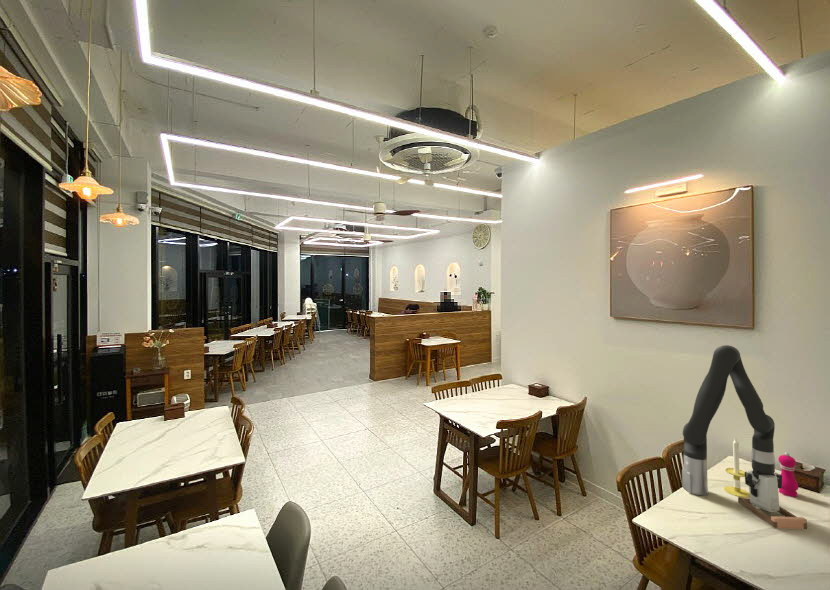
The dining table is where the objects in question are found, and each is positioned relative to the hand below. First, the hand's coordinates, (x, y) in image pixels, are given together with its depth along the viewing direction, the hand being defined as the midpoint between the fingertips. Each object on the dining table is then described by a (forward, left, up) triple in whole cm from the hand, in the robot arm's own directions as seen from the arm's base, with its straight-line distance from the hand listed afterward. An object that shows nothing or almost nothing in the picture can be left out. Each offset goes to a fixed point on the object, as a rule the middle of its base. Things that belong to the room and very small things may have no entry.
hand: (763, 496), depth 163 cm
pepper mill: (+24, +16, -7) cm, 29 cm away
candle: (+1, +16, -7) cm, 17 cm away
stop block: (0, -12, -6) cm, 13 cm away
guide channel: (0, -3, -7) cm, 7 cm away
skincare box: (0, 0, -5) cm, 5 cm away
